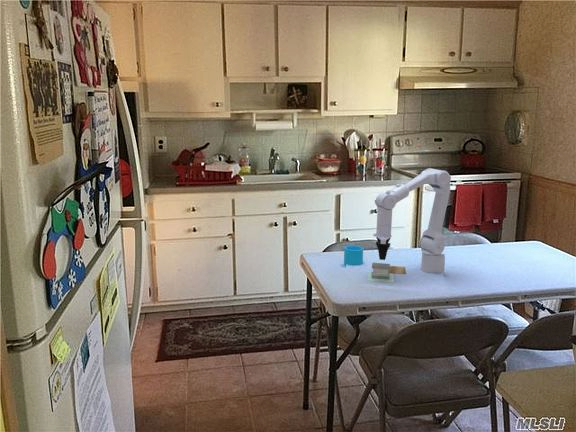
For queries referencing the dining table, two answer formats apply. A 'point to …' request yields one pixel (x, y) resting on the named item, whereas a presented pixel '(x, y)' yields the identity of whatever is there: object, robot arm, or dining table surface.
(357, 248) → the mug
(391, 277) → the stand
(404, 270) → the stand
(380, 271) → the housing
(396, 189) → the robot arm
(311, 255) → the dining table surface
